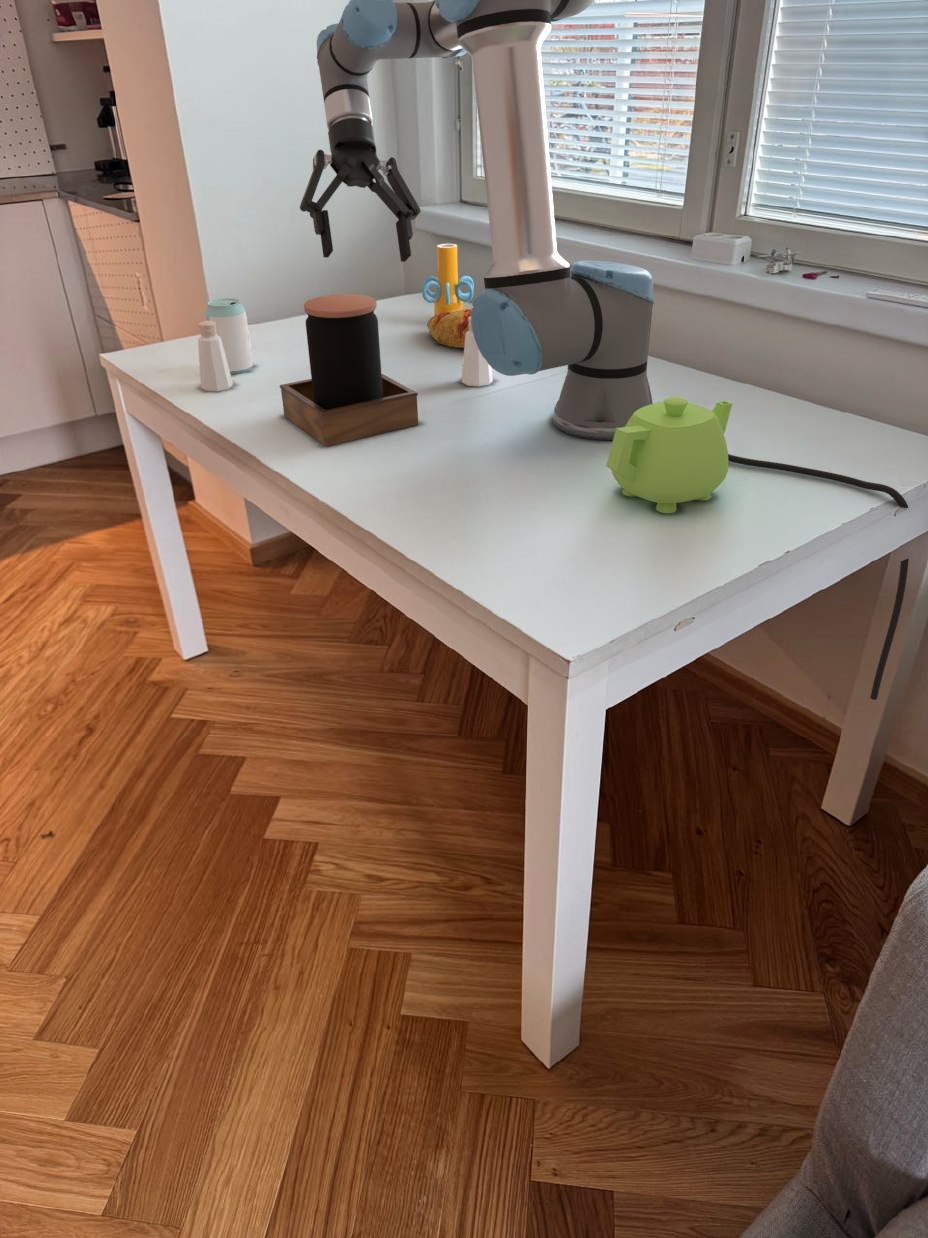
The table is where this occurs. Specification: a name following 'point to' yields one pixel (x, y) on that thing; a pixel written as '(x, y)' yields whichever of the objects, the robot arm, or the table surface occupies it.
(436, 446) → the table surface
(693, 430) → the teapot
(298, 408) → the wooden tray
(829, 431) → the table surface
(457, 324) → the croissant
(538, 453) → the table surface
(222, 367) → the salt shaker
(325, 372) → the coffee jar
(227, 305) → the can
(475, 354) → the pepper shaker
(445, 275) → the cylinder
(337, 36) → the robot arm
